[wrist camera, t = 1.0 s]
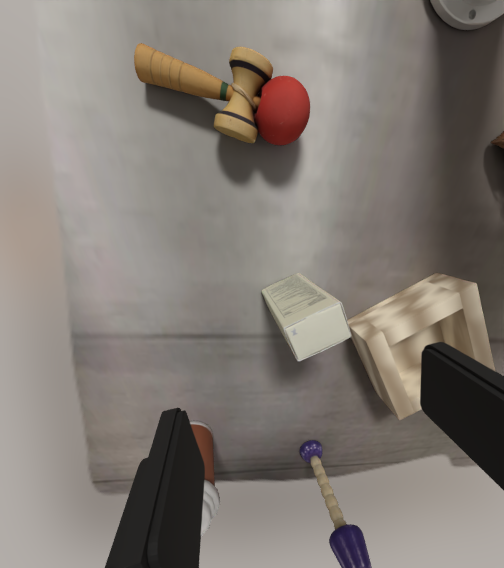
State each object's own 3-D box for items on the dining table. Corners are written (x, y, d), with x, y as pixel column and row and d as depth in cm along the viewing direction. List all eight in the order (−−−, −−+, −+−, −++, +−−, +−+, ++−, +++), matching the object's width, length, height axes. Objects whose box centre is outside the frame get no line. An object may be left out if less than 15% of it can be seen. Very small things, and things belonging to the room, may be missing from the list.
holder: (436, 272, 36) (476, 283, 30) (457, 349, 41) (495, 371, 35) (344, 321, 37) (366, 341, 31) (375, 392, 42) (399, 420, 36)
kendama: (145, 124, 28) (291, 169, 29) (116, 82, 21) (304, 142, 22) (162, 56, 27) (310, 105, 28) (137, -7, 21) (329, 59, 22)
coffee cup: (220, 412, 39) (219, 494, 28) (220, 453, 42) (219, 544, 30) (163, 416, 38) (138, 503, 27) (167, 458, 41) (145, 554, 29)
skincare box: (271, 314, 35) (295, 364, 23) (260, 289, 34) (279, 329, 22) (310, 296, 35) (354, 338, 23) (301, 270, 34) (342, 301, 22)
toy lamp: (300, 439, 43) (345, 572, 27) (324, 436, 43) (382, 564, 28) (298, 458, 44) (340, 595, 28) (322, 455, 45) (377, 588, 29)
